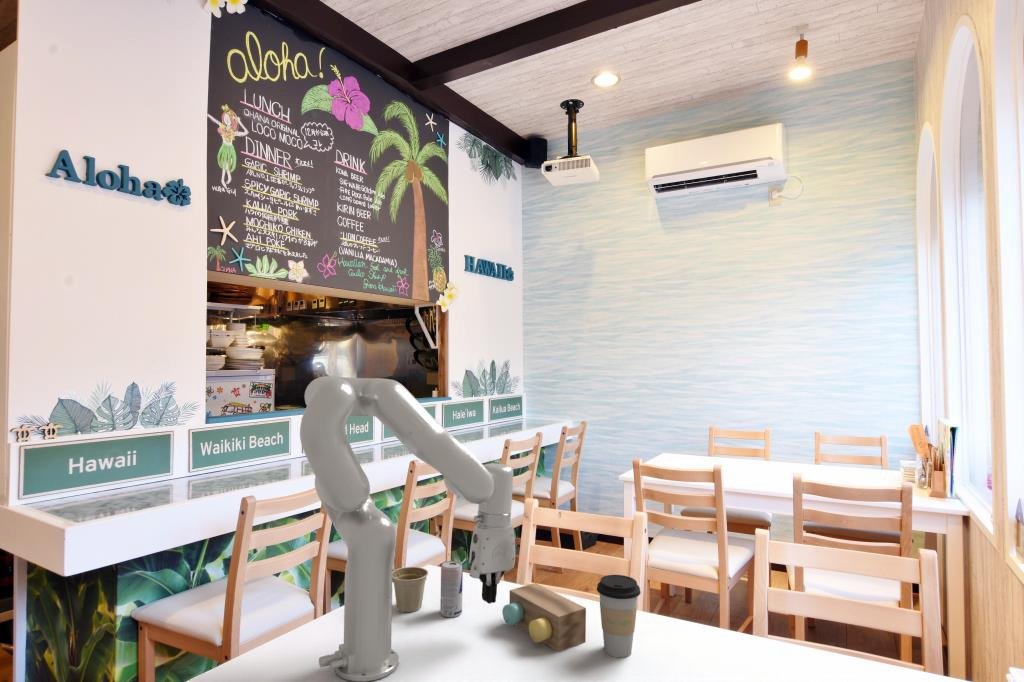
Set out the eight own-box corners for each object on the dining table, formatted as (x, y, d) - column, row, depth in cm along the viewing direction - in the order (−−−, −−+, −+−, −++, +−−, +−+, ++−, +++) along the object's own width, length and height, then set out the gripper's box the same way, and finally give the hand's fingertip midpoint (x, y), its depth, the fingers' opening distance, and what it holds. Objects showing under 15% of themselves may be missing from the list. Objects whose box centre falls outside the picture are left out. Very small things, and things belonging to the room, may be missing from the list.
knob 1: (513, 628, 137) (513, 608, 137) (502, 621, 140) (502, 602, 140) (550, 616, 143) (550, 597, 143) (538, 610, 147) (538, 591, 147)
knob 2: (541, 645, 129) (541, 625, 129) (528, 637, 132) (528, 617, 132) (578, 632, 135) (579, 612, 135) (565, 625, 139) (566, 605, 139)
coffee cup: (607, 664, 124) (607, 591, 125) (589, 643, 134) (590, 575, 134) (648, 658, 127) (648, 587, 127) (627, 638, 136) (628, 571, 136)
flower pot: (382, 612, 148) (383, 577, 148) (400, 598, 157) (401, 564, 157) (417, 618, 145) (418, 582, 145) (433, 602, 154) (434, 569, 154)
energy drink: (463, 609, 150) (464, 561, 151) (459, 618, 145) (460, 568, 145) (442, 608, 151) (443, 560, 151) (438, 617, 146) (438, 567, 146)
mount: (558, 651, 129) (558, 616, 130) (509, 621, 144) (509, 590, 144) (585, 641, 134) (585, 608, 134) (535, 613, 149) (535, 583, 149)
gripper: (475, 526, 129) (469, 613, 128) (529, 519, 138) (524, 601, 137) (457, 518, 135) (451, 601, 134) (510, 512, 144) (505, 590, 143)
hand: (488, 600), depth 136 cm, fingers closed
